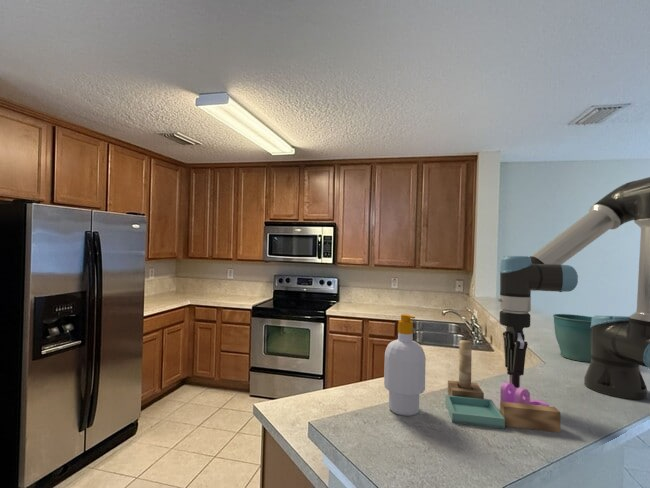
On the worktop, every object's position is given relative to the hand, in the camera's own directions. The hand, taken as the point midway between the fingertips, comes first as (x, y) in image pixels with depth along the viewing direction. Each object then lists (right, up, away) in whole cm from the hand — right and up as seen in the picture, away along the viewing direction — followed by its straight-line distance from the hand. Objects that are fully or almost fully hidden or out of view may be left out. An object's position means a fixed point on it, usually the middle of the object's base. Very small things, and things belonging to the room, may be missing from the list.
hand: (513, 397), depth 96 cm
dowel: (-13, -1, +2) cm, 13 cm away
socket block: (-13, -1, +2) cm, 13 cm away
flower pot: (+54, -6, +50) cm, 73 cm away
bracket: (+1, -2, -4) cm, 5 cm away
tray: (-15, -1, -8) cm, 17 cm away
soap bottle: (-32, 0, -7) cm, 32 cm away
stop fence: (-4, -1, -13) cm, 14 cm away
